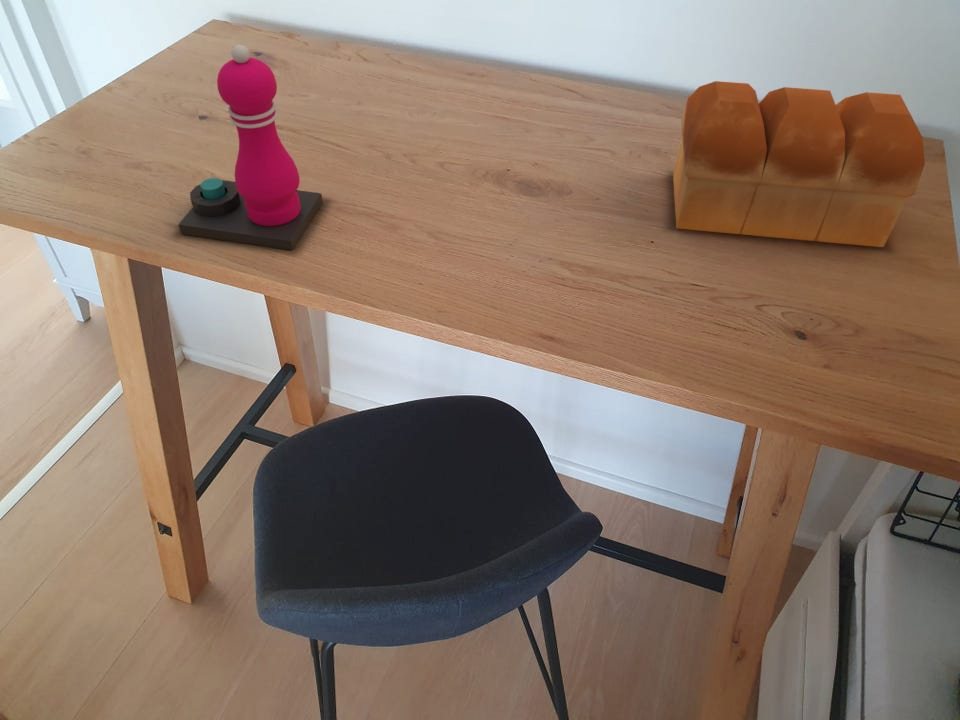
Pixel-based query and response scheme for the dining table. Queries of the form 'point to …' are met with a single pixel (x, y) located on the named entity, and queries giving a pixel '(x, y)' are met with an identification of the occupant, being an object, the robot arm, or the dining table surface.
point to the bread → (795, 164)
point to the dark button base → (245, 219)
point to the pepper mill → (259, 141)
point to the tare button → (212, 188)
